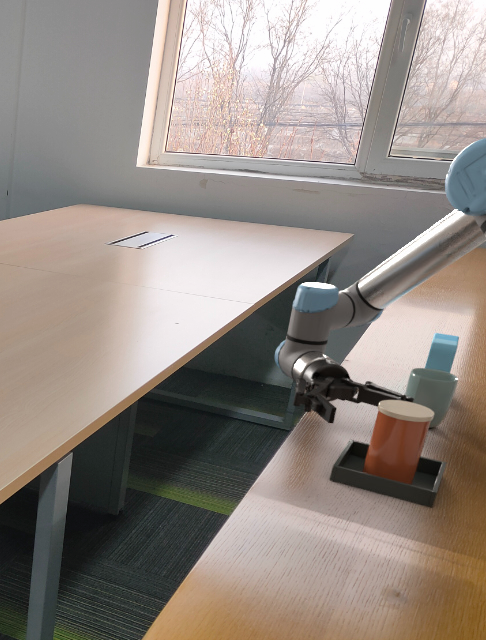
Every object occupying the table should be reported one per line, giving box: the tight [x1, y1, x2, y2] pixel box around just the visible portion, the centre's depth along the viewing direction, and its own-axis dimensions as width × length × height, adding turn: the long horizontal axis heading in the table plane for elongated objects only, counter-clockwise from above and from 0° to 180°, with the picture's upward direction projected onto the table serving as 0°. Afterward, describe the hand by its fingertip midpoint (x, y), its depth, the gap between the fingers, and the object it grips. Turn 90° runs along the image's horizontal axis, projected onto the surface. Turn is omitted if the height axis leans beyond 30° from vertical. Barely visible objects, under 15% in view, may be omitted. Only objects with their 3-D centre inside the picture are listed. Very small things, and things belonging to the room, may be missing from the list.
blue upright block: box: [424, 332, 460, 373], centre depth 169 cm, size 12×4×12 cm, turn 146°
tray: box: [329, 439, 448, 508], centre depth 128 cm, size 14×14×3 cm
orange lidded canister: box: [362, 400, 434, 485], centre depth 126 cm, size 8×8×12 cm
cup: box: [403, 367, 459, 429], centre depth 152 cm, size 8×8×10 cm
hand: (374, 418), depth 133 cm, fingers open, 13 cm apart
